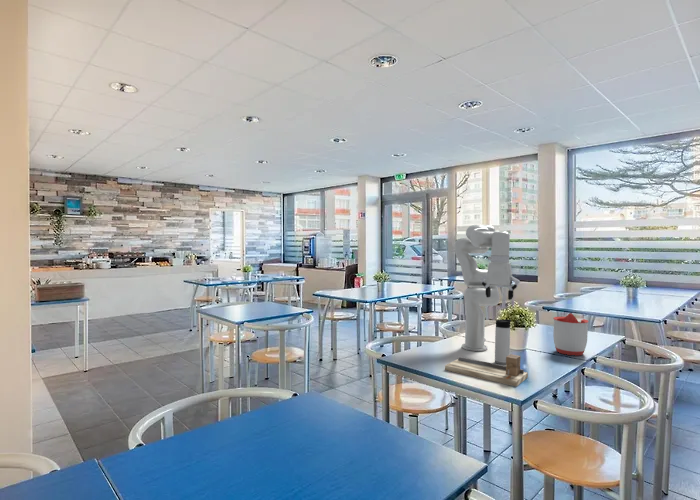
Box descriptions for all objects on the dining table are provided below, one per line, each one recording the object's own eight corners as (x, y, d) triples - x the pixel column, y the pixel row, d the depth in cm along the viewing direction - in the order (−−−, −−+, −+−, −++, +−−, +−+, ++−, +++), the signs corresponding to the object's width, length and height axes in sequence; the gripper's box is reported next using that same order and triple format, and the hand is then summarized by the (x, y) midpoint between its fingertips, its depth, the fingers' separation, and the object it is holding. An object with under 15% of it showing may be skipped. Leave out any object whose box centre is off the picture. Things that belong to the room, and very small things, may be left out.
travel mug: (511, 365, 186) (512, 321, 186) (495, 364, 188) (496, 320, 187) (508, 361, 193) (509, 318, 192) (493, 360, 194) (494, 317, 193)
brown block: (510, 371, 172) (510, 354, 171) (520, 373, 169) (520, 356, 169) (502, 376, 165) (503, 358, 165) (513, 378, 163) (513, 360, 162)
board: (459, 362, 190) (459, 355, 190) (527, 377, 171) (528, 368, 170) (444, 370, 179) (445, 361, 179) (516, 386, 160) (516, 377, 160)
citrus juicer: (595, 353, 208) (596, 314, 207) (577, 359, 198) (578, 317, 197) (564, 346, 220) (565, 309, 220) (545, 351, 210) (547, 312, 210)
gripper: (477, 259, 187) (476, 297, 187) (517, 260, 176) (516, 301, 176) (484, 258, 193) (483, 295, 193) (522, 260, 181) (521, 299, 182)
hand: (499, 298), depth 185 cm, fingers open, 9 cm apart
